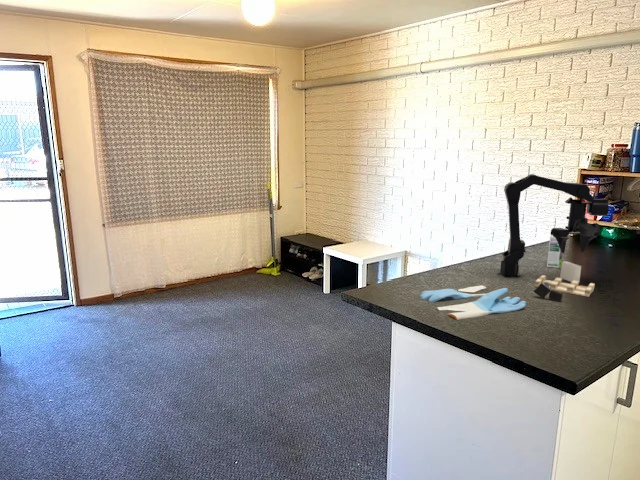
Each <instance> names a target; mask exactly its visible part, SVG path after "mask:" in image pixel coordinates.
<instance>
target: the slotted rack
mask: <svg viewBox="0 0 640 480" xmlns="http://www.w3.org/2000/svg"><path fill="white" fill-rule="evenodd" d="M542 282H543V283H545V282H548V284H550V286H549V288H551V290H552V291H556V292H559V293H567V294H573V295H577V296H582V297H589V298H590V296H591V295H592V293H593V292H594V290H595V284H596V283H593V282H590V283H589V284H588V286H586V285H579V284H580V282H579V281H576V280H573V281H572V282H570V283H568V282H563V279H562V278H560V277H555V279H554V280H550V279H547V275H545V274H544V275H542V274H541V275H540V277H538V278H537V279H536V280H535V281H534V285H533V288H537V287H538V286H539V285H540V284H541V283H542Z"/></svg>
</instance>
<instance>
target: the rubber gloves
mask: <svg viewBox="0 0 640 480" xmlns="http://www.w3.org/2000/svg"><path fill="white" fill-rule="evenodd" d="M483 289H484V290H485V289H487V287H486V286H485V285H481V284H480V285H475V286H469V287H464V288H460V289H453V288H443V289H442V288H441V289H436V290H432V289H431V290H424V291H422V292H421V295H419V298H420V300H421V301H428V302H429V303H436V302H438V301H440V300H461V299H470V298H477V300H474V301H469V302H466V303H465V302H464V303H460V304H452V305H445V306H439V307H438V306H437V307H436V310H439V311H447V310H448V311H455V312H450V313H447V316H448V317H452V318H454V319H455V320H456V321H459V320H466V319H472V318H478V317H483V316H484V317H485V316H488V315H492V314H504V313H510V312H515V311H518V310H521V309H525V307H526V306H527V301H526V300H521V298H520V297H518V296H515V297H512V298H511V296H506V297H504V298H502V299H499V298H501V297H502V296H504V295H506V294H507V293H508V291H509V289H508V287H503V288H499V289H496V290H492V291H490V292H487V293H475V292H478V291H481V290H483ZM457 290H458V291H457ZM466 292H467V293H466ZM472 293H473V294H472ZM478 297H479V298H478ZM456 311H457V312H456ZM458 311H459V312H458Z"/></svg>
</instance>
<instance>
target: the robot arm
mask: <svg viewBox="0 0 640 480" xmlns="http://www.w3.org/2000/svg"><path fill="white" fill-rule="evenodd" d="M534 185H535V186H539V187H542V188H543V187H544V188H548V189H551V190H556V191H560V192H564V193H565V194H567V195H570V196H573V197H569V198H568V199H566V200H565V201H564V202H565V204H568V205H570V206H569V212H568V215H567V216H566V218H565V219H566V220H567V223H568V224H567V226H566V225H565V228H564V227H563V228H562V227H553V228H551V230H550V234H549V236H550V235H553V237H555V238H556V240H557V242H558V244H559V247H560V250H561V252H562V254H564V253H565V251H566V247H567V246H566V245H567V241H568V240H569V239H570V237H569V235H579V244H580V247H579V248H580V252H581V253H584V252H585V251H586V248H587V247H588V245H589V243H590V242H591V241H592V240H593V239H595V238H597V237H599V236H600V234H601V232H600V224H599V223H598V222H594V223H589V221H588V217H586V213H588V214H589V216H592V217H593V216H595V217H596V216H597V217H600V216H601V217H607V216H608V214H609V210H610V207H609V200H608V199H607V198H594V197H593V196H592V195H591V193H590V192H591V189H590V186H588V185H587V184H585V183H581V182H567V181H566V182H564V181H559V180H557V179H551V178H548V177H543V176H540V175H537V174H534V173H531V174H529V175H527V176H524V177H523V178H521V179H518V180H516V181H515V182H508V183H506V184H505V186H504V187H503V189H504V190H503V192H504V195H505V199H506V201H507V207H508V223H509V224H508V226H509V239H508V245H507V250H506V251H504V252H503V253H501V257H502V260H500V270H499V272H497V275H499V276H502V277H504V278H506V279H507V278H520V275H519V268H520V264H519V261H520V260H522V258H523V257H524V256H525V253H527V252H526V242H525V241H524V239H521V233H520V232H521V230H520V212H519V209H520V208H519V204H520V199H521V193H522V192H523V191H525V190H527V189H529V188H530V187H531V186H534ZM573 198H574V199H573ZM575 198H577V199H575ZM582 200H583V201H582Z"/></svg>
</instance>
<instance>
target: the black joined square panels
mask: <svg viewBox="0 0 640 480" xmlns="http://www.w3.org/2000/svg"><path fill="white" fill-rule="evenodd" d="M549 286H550V284H548V282H545V283H543V282H542V283H541V284H540V285H539V286H538V287H535V289H534V290H533V293H535V294H536V295H537V296H538V297H540V298H541V299H542V300H543V299H545V297H546V296H547V295H548V298H549V299H550V300H551V301H555V302H561V301H562V298H563V295H564V293H563V292H559V291H554V290H551V288H549Z"/></svg>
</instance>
